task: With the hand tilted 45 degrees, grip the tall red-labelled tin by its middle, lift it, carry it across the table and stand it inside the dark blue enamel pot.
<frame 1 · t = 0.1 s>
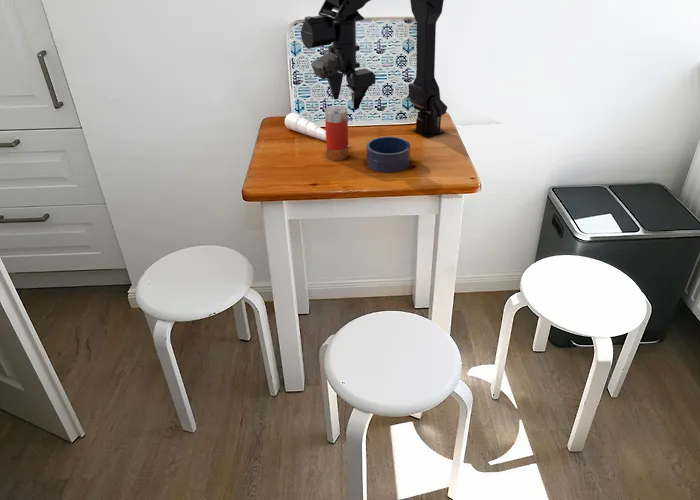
hand: (345, 104, 147), 15 cm above the table, tool pointing down, fingers open, 9 cm apart
unicorn horn: (317, 137, 167), on the table
tin: (337, 155, 156), on the table
pot: (388, 162, 152), on the table
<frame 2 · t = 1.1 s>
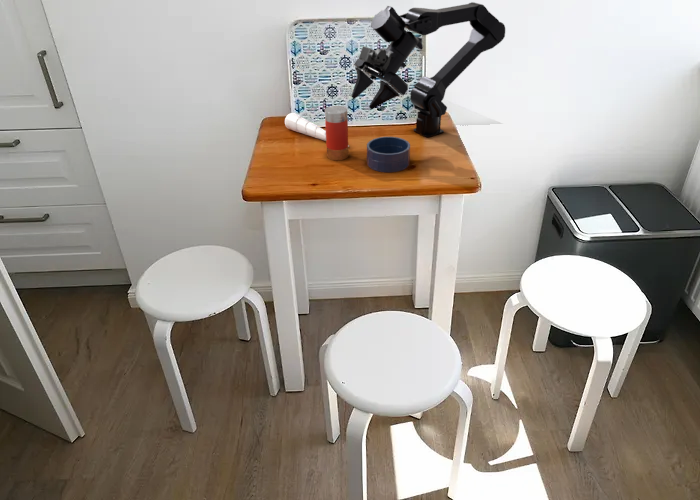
hand: (361, 102, 152), 13 cm above the table, tool tilted 45°, fingers open, 9 cm apart
nothing on the table moved.
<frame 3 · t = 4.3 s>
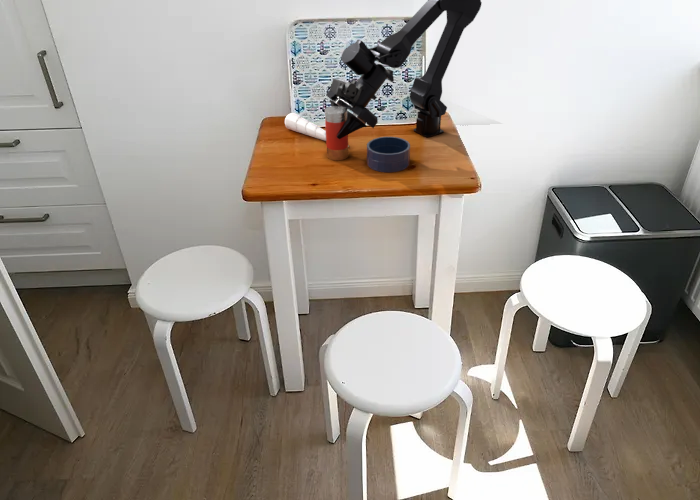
hand: (332, 134, 152), 7 cm above the table, tool tilted 45°, fingers closed on tin, 6 cm apart
tin: (337, 155, 156), on the table, touching gripper
everything else where it was.
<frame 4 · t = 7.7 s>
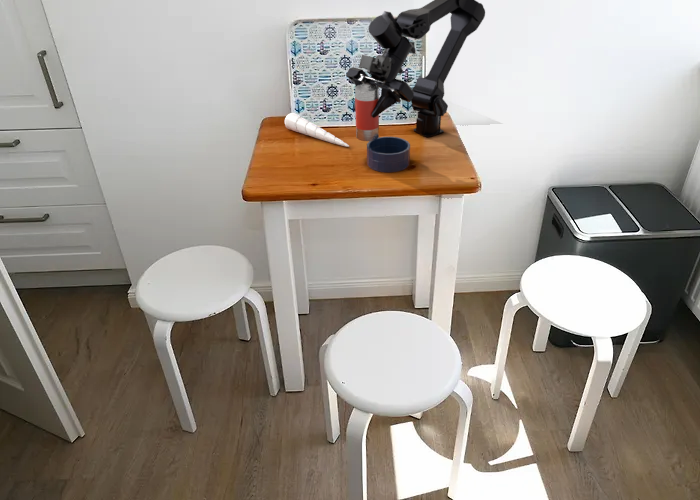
hand: (363, 113, 145), 14 cm above the table, tool tilted 45°, fingers closed on tin, 6 cm apart
tin: (367, 136, 149), point 7 cm above the table, touching gripper
everything else where it was.
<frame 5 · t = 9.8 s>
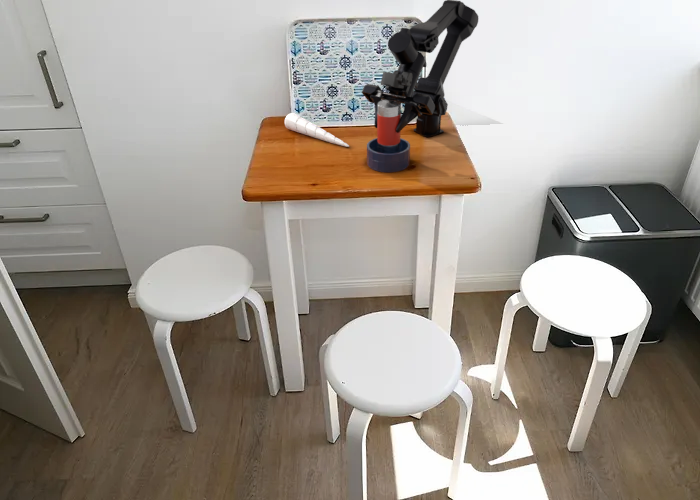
hand: (386, 129, 146), 10 cm above the table, tool tilted 45°, fingers closed on tin, 6 cm apart
tin: (388, 151, 150), point 3 cm above the table, touching gripper
everything else where it was.
when the fingers open (7 cm above the table, at t = 11.2 s): tin stays where it is, resting on pot.
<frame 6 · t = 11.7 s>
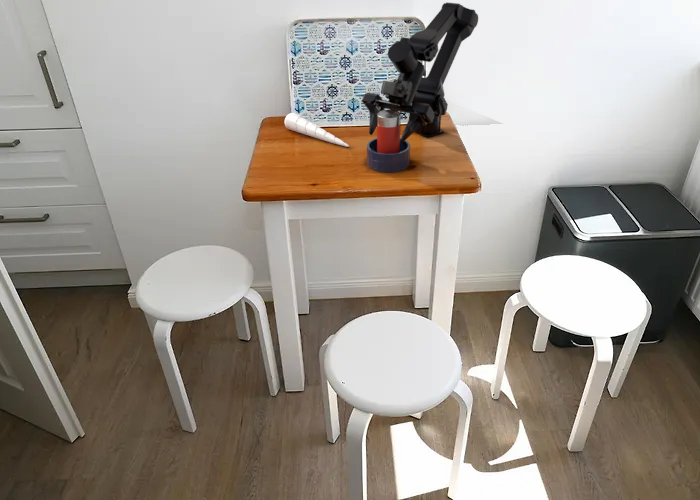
hand: (385, 137, 147), 8 cm above the table, tool tilted 45°, fingers open, 9 cm apart
tin: (388, 161, 152), resting on pot
everything else where it was.
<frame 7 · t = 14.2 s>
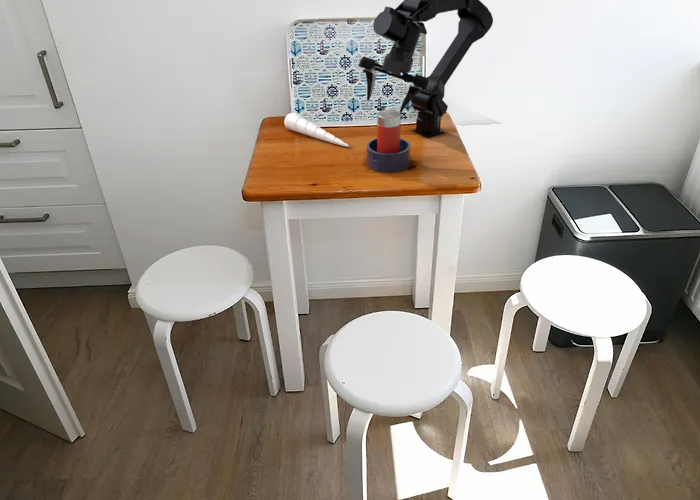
hand: (384, 106, 152), 13 cm above the table, tool tilted 25°, fingers open, 9 cm apart
nothing on the table moved.
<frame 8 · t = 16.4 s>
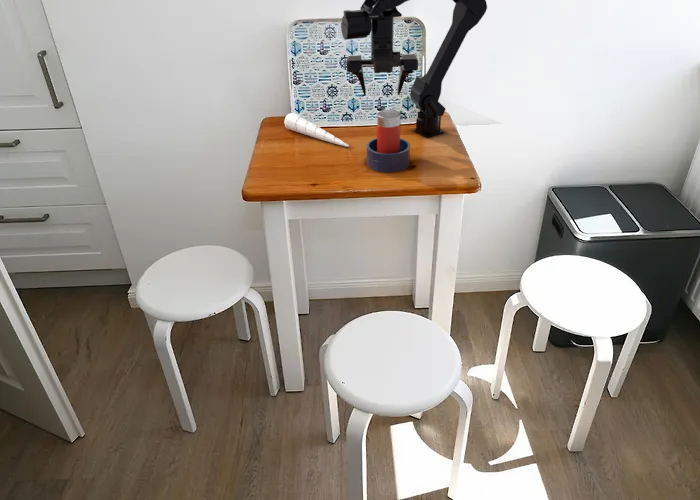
hand: (381, 94, 157), 13 cm above the table, tool pointing down, fingers open, 9 cm apart
nothing on the table moved.
at the end: tin 0.0 cm off-centre in the pot, point 0.5 cm above the pot's base; tin tilted 0°; the gripper is holding nothing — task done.
